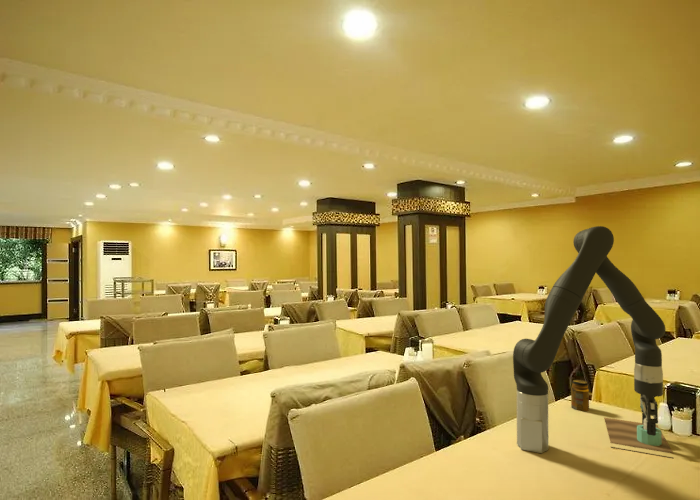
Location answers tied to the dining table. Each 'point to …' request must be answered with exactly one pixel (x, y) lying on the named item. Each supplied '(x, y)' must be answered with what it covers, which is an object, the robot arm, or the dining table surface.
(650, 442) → the ring
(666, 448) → the board
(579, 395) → the condiment
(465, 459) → the dining table surface
